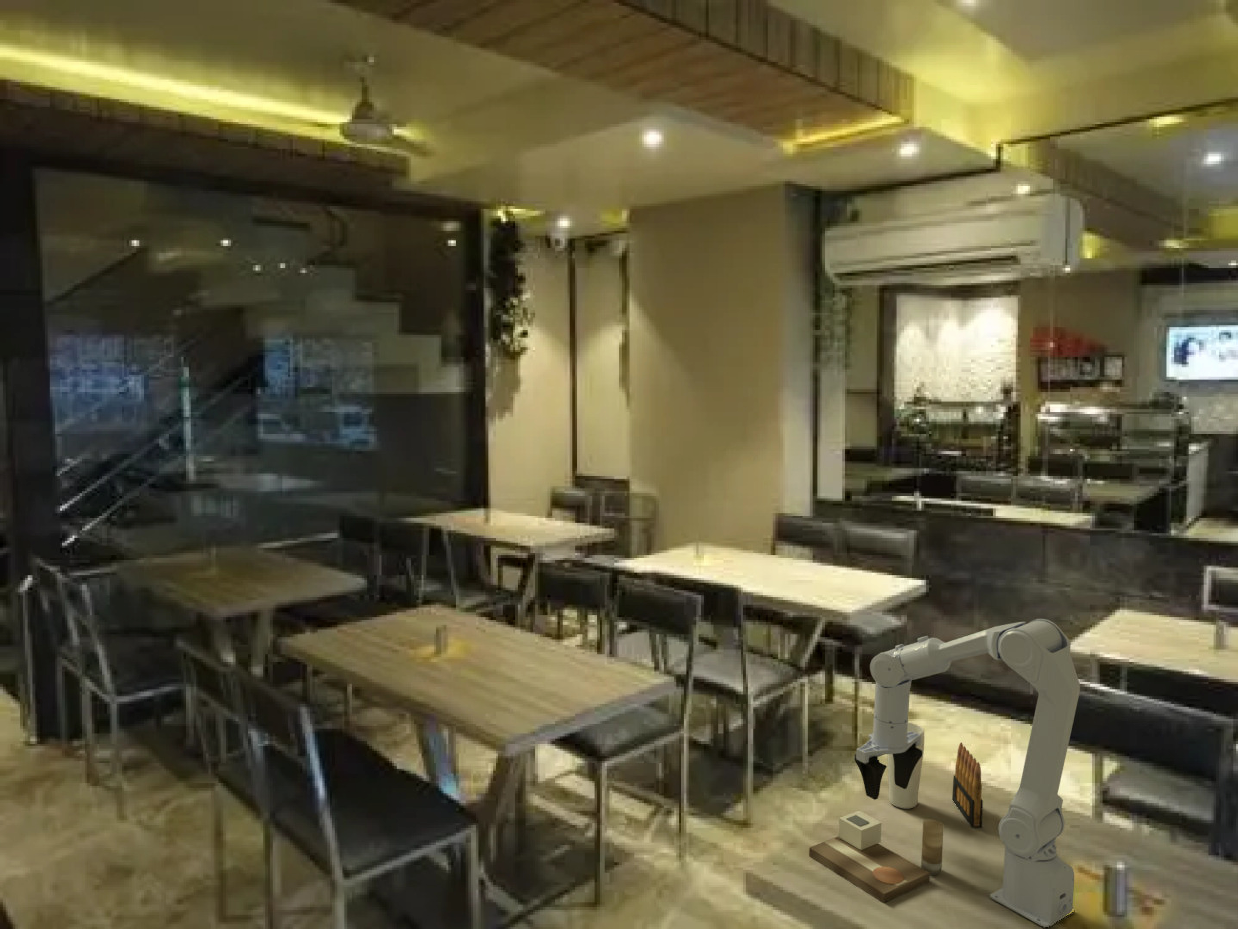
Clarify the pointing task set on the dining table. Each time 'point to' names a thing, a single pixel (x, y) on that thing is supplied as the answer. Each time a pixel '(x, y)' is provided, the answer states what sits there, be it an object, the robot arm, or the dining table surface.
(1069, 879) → the robot arm
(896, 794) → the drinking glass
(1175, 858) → the dining table surface
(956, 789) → the ammunition clip
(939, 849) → the brown upright cylinder
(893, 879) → the board
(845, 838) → the block
